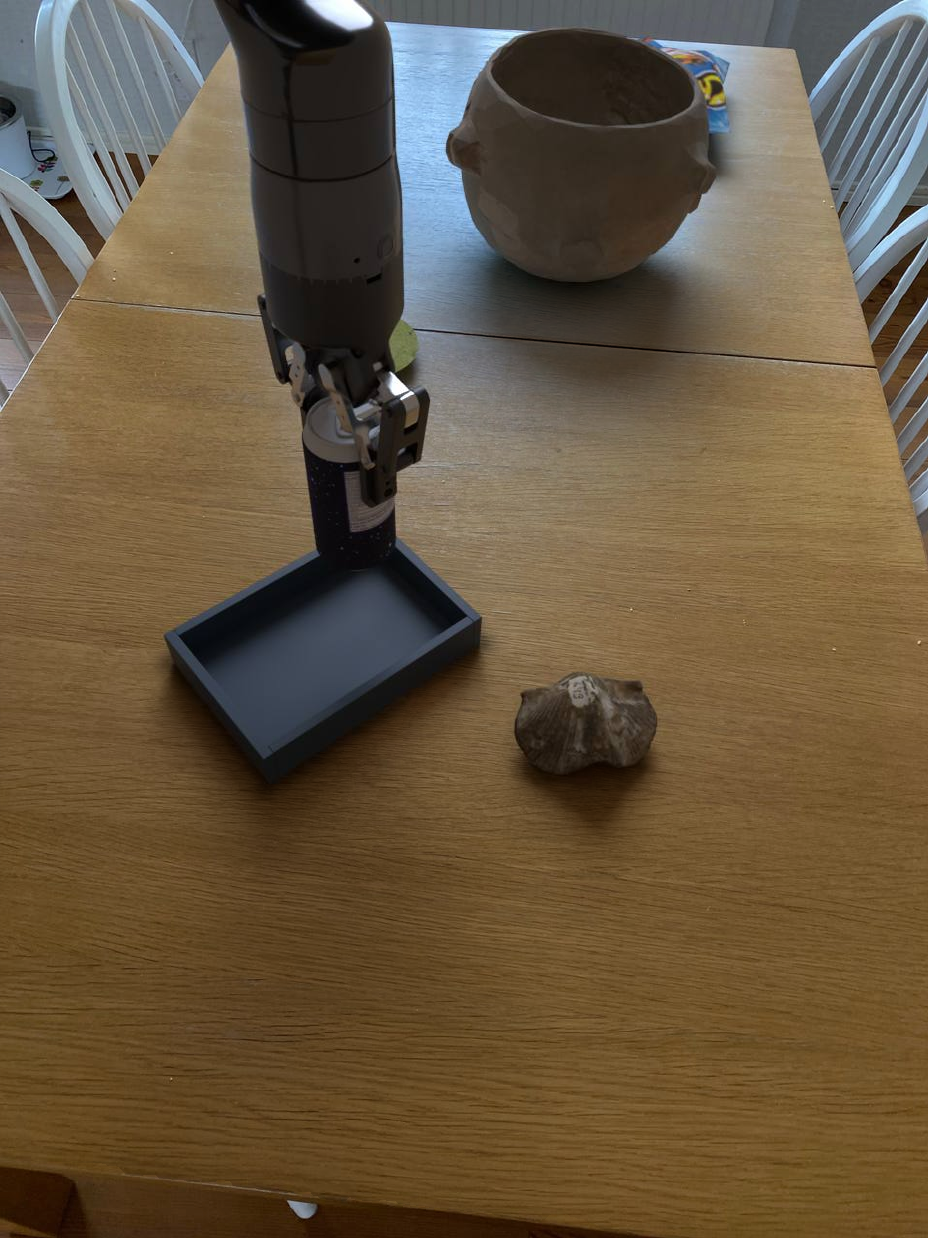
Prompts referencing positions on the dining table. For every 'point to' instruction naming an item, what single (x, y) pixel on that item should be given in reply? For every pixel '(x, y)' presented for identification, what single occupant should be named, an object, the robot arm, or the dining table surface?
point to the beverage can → (343, 494)
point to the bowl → (581, 152)
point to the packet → (705, 81)
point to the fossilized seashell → (585, 723)
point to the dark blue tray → (320, 651)
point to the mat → (403, 345)
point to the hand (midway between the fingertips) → (350, 472)
